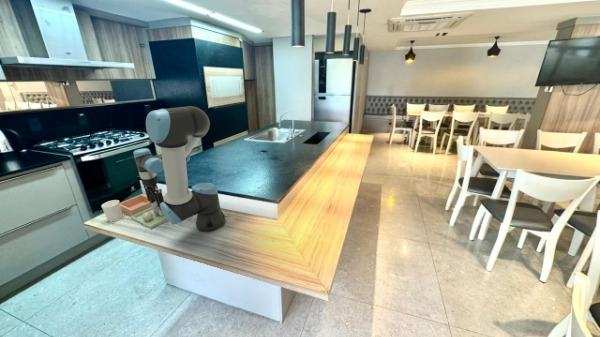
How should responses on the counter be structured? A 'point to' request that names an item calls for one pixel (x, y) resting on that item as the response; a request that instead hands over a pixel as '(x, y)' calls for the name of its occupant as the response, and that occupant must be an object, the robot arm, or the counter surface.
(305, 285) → the counter surface
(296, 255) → the counter surface
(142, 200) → the terracotta dish
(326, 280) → the counter surface
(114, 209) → the white cup
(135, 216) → the parts tray
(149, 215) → the sand pebble
